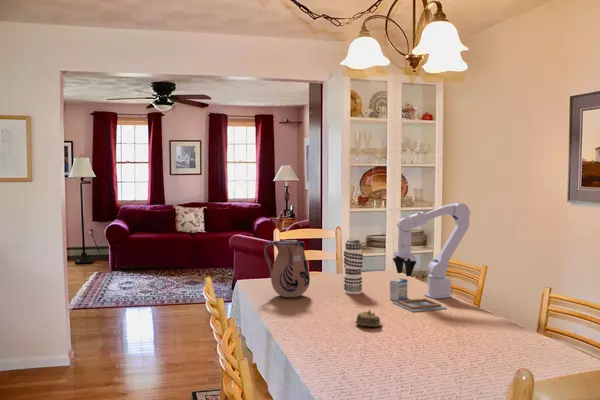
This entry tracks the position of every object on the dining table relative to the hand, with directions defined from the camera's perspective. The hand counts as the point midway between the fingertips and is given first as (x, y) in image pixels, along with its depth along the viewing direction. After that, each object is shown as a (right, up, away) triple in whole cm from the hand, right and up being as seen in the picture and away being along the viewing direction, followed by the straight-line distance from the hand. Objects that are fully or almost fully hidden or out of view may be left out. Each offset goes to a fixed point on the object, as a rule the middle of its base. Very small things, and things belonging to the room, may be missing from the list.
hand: (404, 274), depth 234 cm
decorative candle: (-22, -10, +11) cm, 27 cm away
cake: (-22, -13, -42) cm, 49 cm away
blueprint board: (+3, -11, -15) cm, 19 cm away
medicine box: (-3, -11, -3) cm, 12 cm away
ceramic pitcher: (-53, -10, +3) cm, 54 cm away
